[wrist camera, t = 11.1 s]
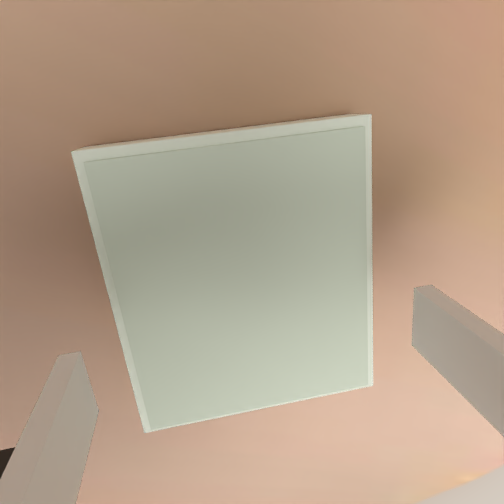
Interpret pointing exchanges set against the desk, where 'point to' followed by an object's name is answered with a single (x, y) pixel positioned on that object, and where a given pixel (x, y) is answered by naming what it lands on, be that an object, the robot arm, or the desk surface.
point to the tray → (237, 263)
